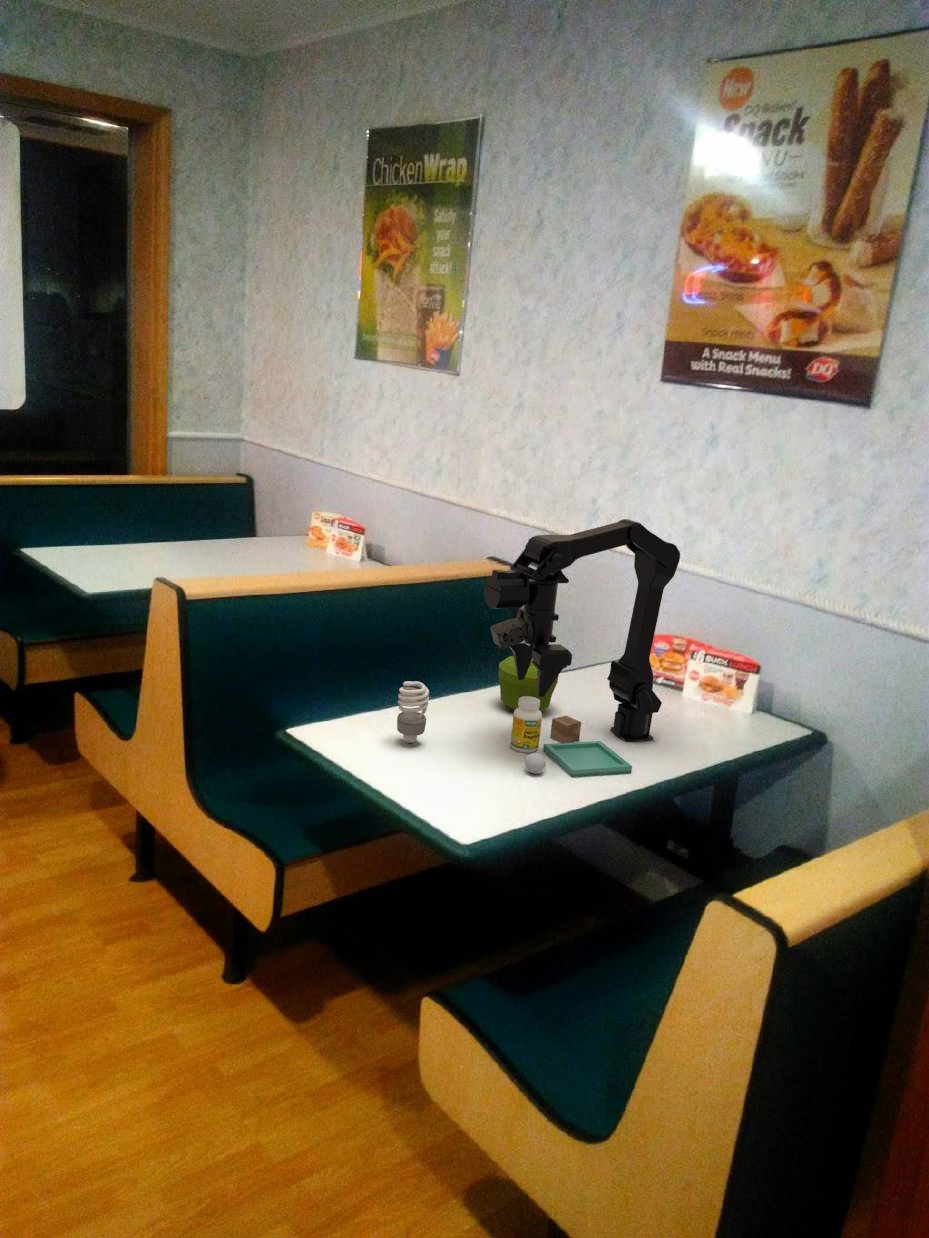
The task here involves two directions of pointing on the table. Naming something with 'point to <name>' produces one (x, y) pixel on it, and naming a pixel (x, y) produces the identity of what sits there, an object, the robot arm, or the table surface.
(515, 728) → the supplement bottle
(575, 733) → the walnut cube
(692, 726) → the table surface
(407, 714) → the light bulb
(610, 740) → the table surface
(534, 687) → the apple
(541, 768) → the grey ball
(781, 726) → the table surface
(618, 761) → the tray
